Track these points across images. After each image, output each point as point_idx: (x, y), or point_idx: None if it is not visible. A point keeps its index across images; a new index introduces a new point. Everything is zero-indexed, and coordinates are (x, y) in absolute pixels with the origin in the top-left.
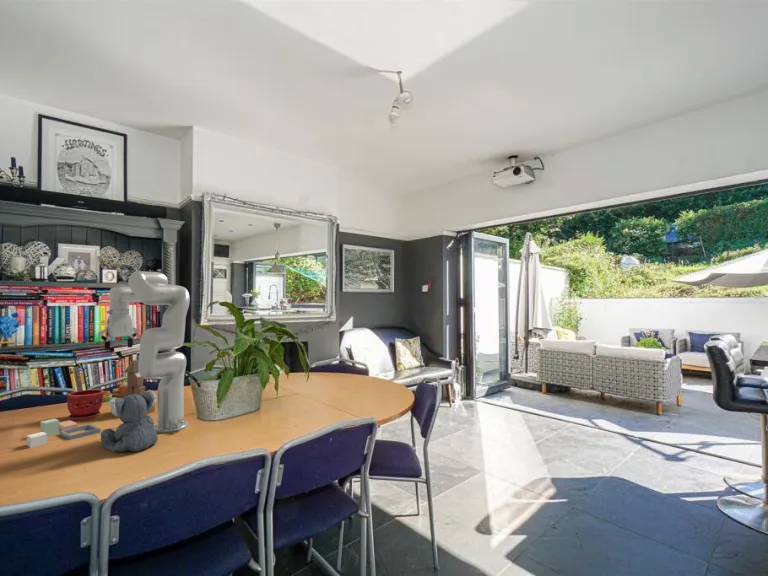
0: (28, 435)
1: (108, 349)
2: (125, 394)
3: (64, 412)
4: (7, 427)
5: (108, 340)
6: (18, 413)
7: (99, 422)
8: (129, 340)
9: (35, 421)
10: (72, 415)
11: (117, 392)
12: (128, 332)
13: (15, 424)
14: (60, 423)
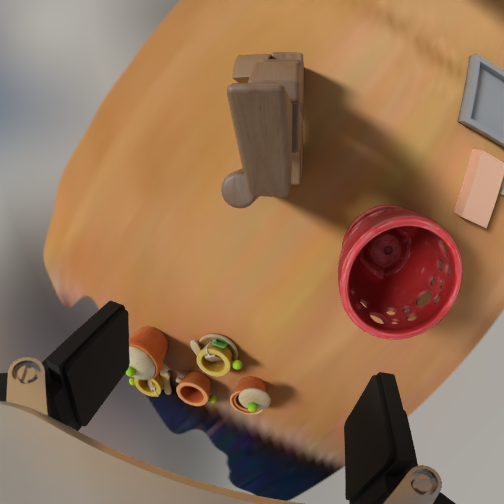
0: None
1: (390, 378)
2: (301, 159)
3: (339, 364)
4: (461, 361)
5: (410, 477)
6: None
7: (406, 151)
8: (82, 385)
9: (420, 352)
10: (422, 259)
11: (157, 376)
12: (21, 472)
13: (441, 369)
14: (488, 210)
